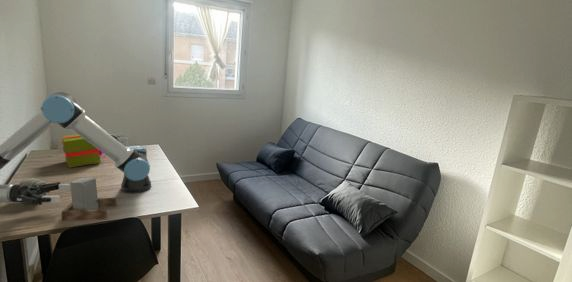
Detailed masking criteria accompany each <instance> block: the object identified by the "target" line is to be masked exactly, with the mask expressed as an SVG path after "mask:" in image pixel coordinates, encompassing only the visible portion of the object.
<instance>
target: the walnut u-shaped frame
mask: <svg viewBox="0 0 572 282" xmlns="http://www.w3.org/2000/svg"><path fill="white" fill-rule="evenodd" d="M117 203H118V201H117V197H98V208H104V209H99V210H73V204H72V202H70V203H69V204H68V205H67V206H66V207H64V209H63V210H62V211H61V221H86V220H87V221H88V220H90V221H91V220H93V221H94V220H95V221H97V220H107V219H108V209H106V208H110V207H113V208H114V207H115V208H116V207H117V206H118V204H117Z"/></svg>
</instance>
